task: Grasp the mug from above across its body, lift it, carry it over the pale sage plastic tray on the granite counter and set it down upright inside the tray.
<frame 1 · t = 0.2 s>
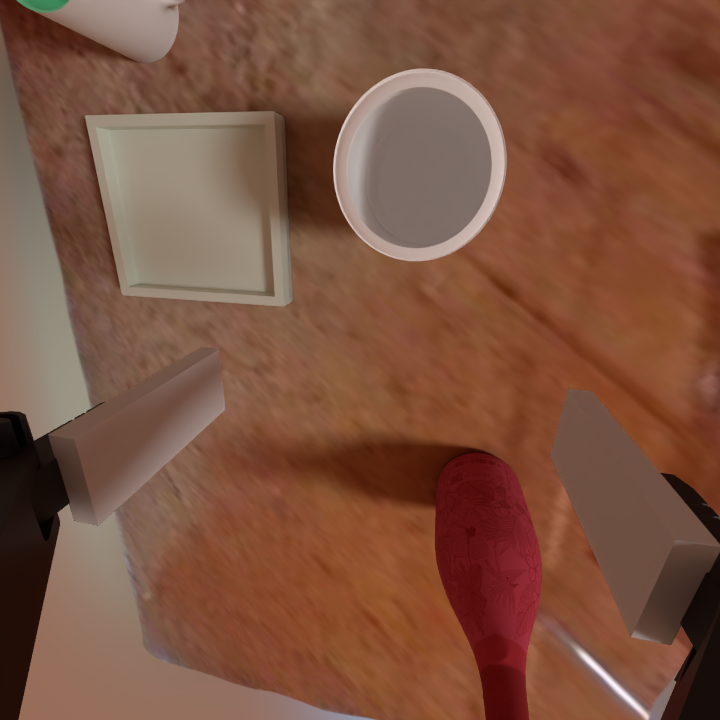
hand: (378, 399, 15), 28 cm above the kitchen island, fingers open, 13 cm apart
jar: (425, 187, 37), on the kitchen island
mug: (159, 8, 36), on the kitchen island
tray: (202, 214, 42), on the kitchen island
wine bottle: (476, 480, 47), on the kitchen island
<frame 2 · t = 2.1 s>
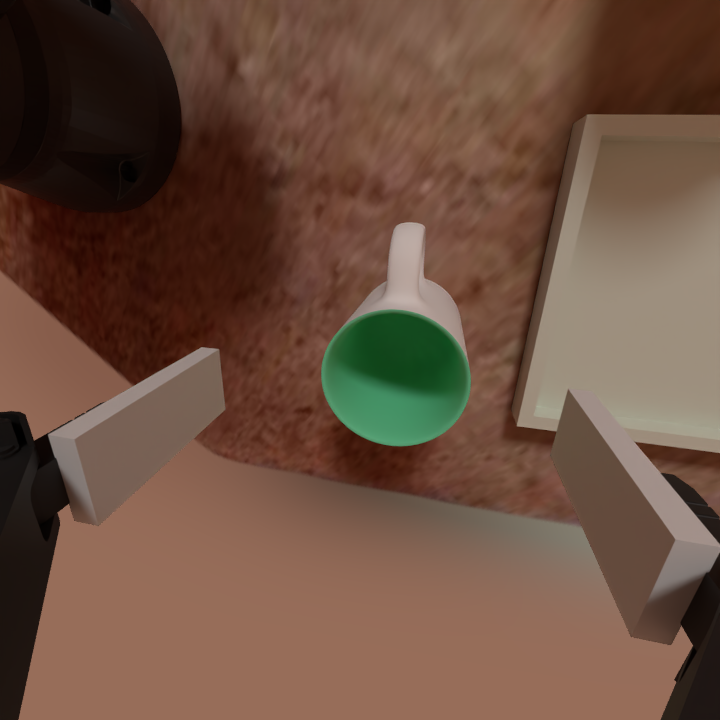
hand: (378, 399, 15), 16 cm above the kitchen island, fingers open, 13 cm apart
mug: (408, 302, 30), on the kitchen island
tray: (679, 297, 26), on the kitchen island
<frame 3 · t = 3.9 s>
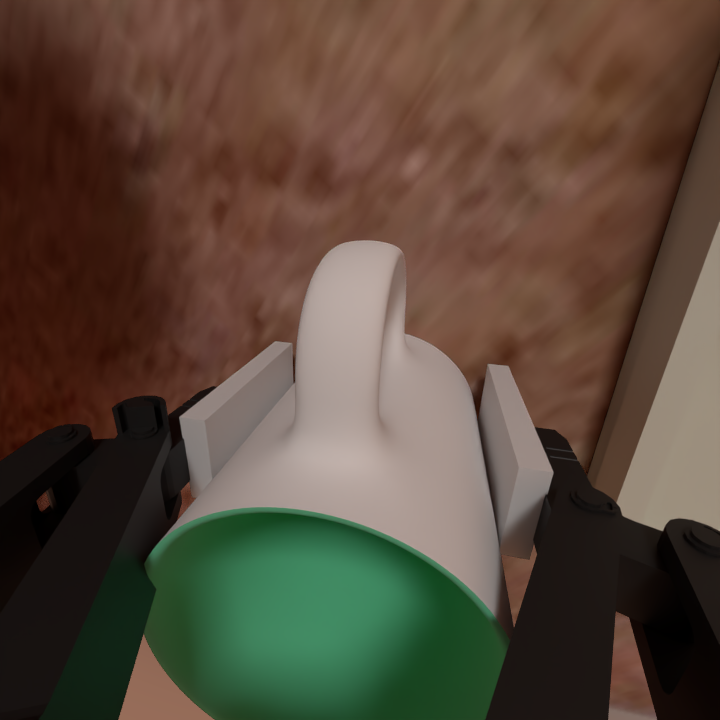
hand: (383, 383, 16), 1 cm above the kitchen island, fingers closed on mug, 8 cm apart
mug: (383, 374, 17), on the kitchen island, touching gripper
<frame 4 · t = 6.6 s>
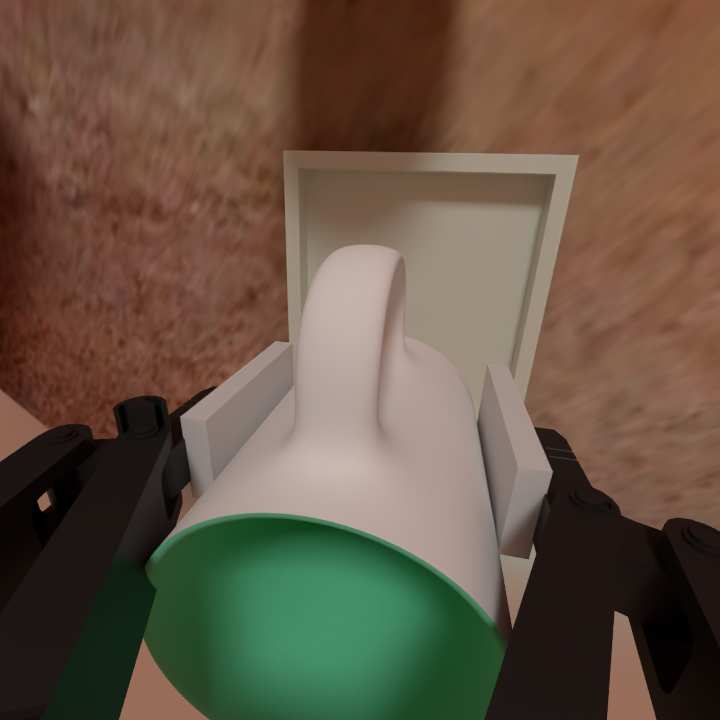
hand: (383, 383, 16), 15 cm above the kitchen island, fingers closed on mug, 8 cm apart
mug: (382, 376, 17), point 14 cm above the kitchen island, touching gripper
tray: (410, 303, 29), on the kitchen island
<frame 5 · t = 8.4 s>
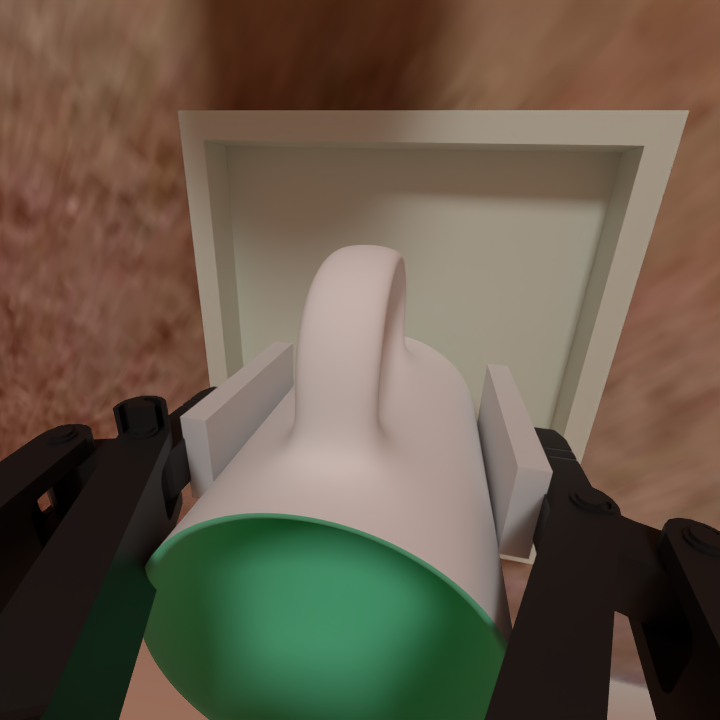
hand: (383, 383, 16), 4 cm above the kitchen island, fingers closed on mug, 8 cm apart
mug: (382, 376, 17), point 3 cm above the kitchen island, touching gripper
tray: (393, 349, 20), on the kitchen island
when the fingers open (3 cm above the kitchen island, at t = 9.5 s): mug drops 1 cm, resting on tray.
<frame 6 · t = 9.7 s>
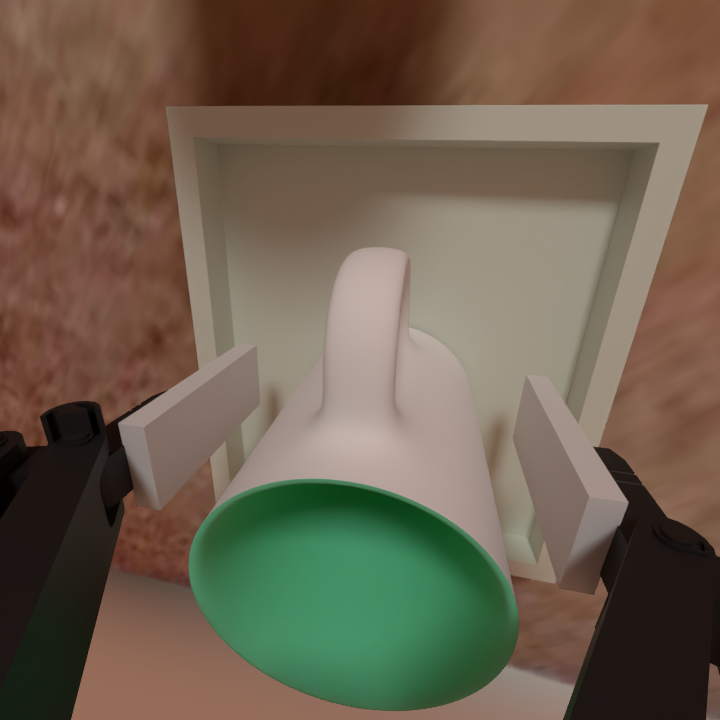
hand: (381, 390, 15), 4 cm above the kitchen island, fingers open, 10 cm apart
mug: (387, 364, 18), point 1 cm above the kitchen island, touching tray
tray: (392, 356, 19), on the kitchen island
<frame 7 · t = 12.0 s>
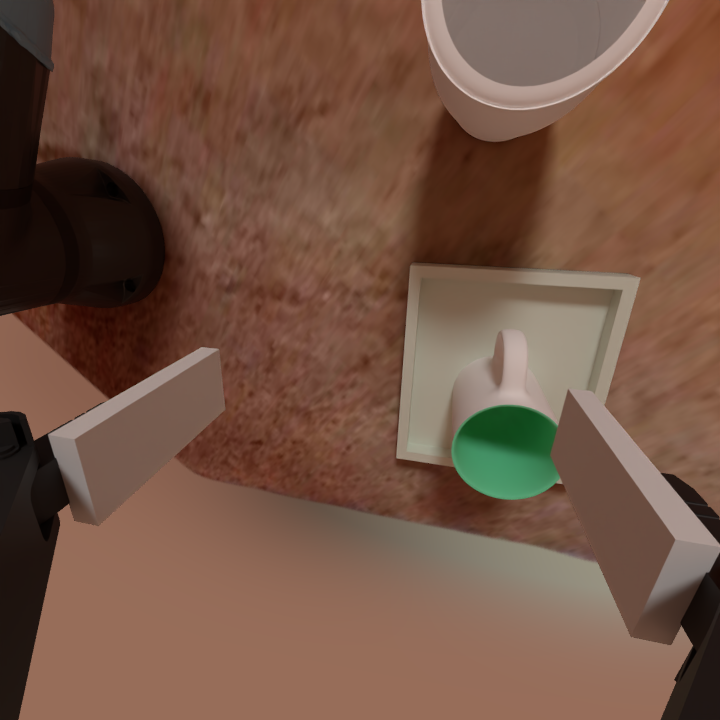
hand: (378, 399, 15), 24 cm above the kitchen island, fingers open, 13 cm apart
jar: (504, 82, 30), on the kitchen island
mug: (495, 374, 37), point 1 cm above the kitchen island, touching tray
tray: (497, 371, 37), on the kitchen island
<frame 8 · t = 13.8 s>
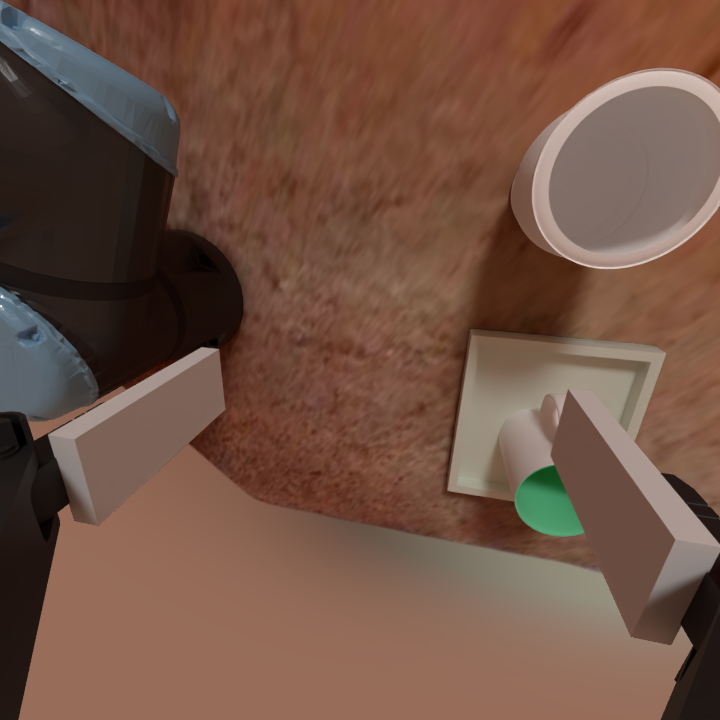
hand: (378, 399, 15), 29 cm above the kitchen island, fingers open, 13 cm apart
jar: (557, 189, 36), on the kitchen island
mug: (537, 422, 43), point 1 cm above the kitchen island, touching tray
tray: (537, 419, 44), on the kitchen island
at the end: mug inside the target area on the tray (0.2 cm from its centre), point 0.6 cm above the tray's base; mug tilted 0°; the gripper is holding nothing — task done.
